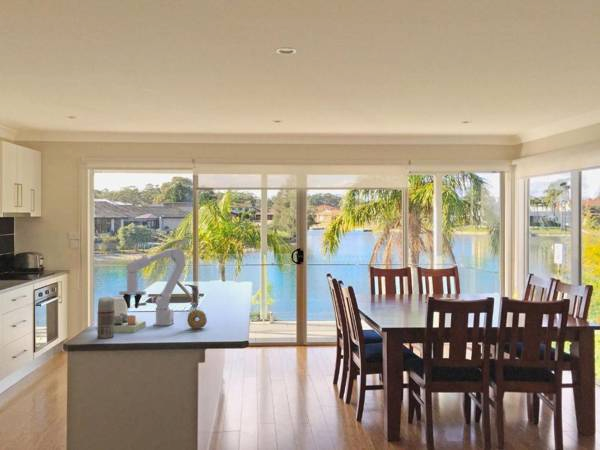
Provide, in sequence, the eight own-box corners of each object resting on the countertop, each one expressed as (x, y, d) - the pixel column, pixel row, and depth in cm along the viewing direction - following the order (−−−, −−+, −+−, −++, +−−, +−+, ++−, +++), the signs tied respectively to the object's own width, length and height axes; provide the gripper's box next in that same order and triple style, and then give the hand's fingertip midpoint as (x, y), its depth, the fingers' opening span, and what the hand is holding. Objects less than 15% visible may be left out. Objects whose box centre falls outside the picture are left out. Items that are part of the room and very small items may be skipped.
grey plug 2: (128, 321, 300) (128, 313, 300) (125, 322, 296) (125, 314, 296) (121, 321, 301) (121, 313, 301) (118, 322, 297) (118, 314, 297)
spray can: (116, 335, 280) (116, 296, 279) (111, 338, 271) (111, 298, 271) (100, 335, 279) (99, 296, 279) (94, 338, 271) (94, 298, 271)
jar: (107, 325, 304) (107, 299, 303) (109, 322, 314) (108, 296, 313) (127, 324, 306) (127, 298, 306) (128, 321, 316) (128, 295, 316)
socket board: (145, 326, 301) (145, 321, 301) (134, 332, 286) (134, 326, 286) (119, 326, 303) (119, 320, 303) (107, 331, 288) (107, 326, 288)
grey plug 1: (123, 323, 293) (123, 315, 293) (119, 325, 289) (119, 316, 289) (116, 323, 293) (115, 315, 293) (112, 325, 289) (112, 316, 289)
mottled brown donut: (186, 329, 293) (186, 310, 293) (188, 327, 297) (188, 309, 297) (205, 329, 293) (205, 310, 293) (207, 328, 296) (207, 309, 296)
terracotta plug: (136, 323, 294) (136, 315, 294) (133, 325, 290) (133, 316, 290) (129, 323, 294) (129, 315, 294) (126, 324, 290) (126, 316, 290)
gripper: (116, 284, 297) (116, 308, 297) (142, 284, 296) (142, 309, 296) (122, 282, 304) (122, 306, 304) (147, 282, 303) (147, 307, 303)
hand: (132, 307), depth 301 cm, fingers open, 4 cm apart
